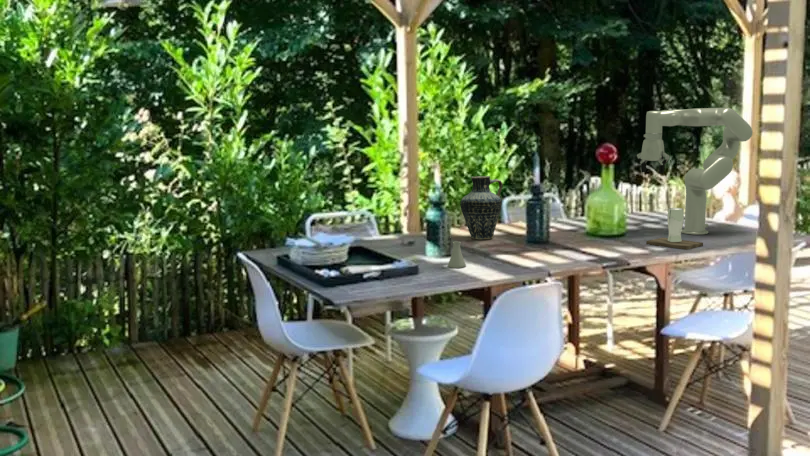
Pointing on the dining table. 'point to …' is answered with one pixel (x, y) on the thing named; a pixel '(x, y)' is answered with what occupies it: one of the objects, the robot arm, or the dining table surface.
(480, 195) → the jug
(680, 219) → the beer glass
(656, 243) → the serving board
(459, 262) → the flask
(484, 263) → the dining table surface
